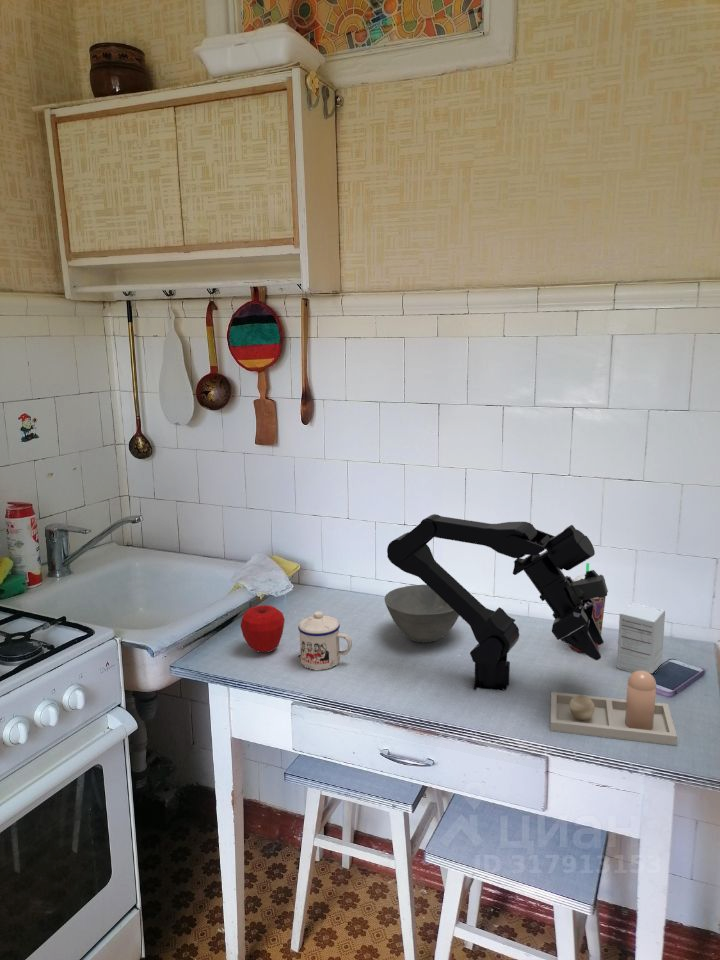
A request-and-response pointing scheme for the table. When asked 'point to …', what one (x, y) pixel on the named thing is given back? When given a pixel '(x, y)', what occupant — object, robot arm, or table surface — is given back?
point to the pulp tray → (610, 720)
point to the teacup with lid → (321, 641)
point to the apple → (262, 627)
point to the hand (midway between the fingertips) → (600, 651)
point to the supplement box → (640, 638)
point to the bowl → (420, 613)
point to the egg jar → (640, 700)
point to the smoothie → (598, 607)
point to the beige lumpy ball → (581, 707)
